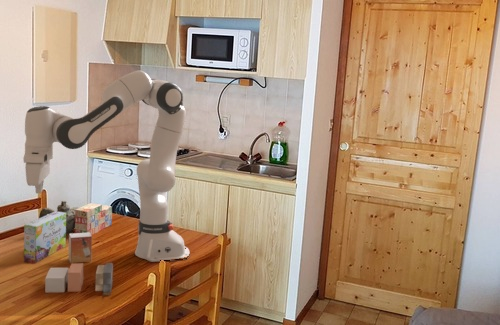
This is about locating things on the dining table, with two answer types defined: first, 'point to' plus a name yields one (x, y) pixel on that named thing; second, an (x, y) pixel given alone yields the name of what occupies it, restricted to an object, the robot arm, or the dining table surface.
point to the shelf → (104, 278)
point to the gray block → (56, 280)
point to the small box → (80, 247)
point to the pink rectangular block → (75, 277)
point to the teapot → (66, 209)
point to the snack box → (44, 236)
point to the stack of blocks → (92, 218)
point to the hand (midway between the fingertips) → (39, 192)
